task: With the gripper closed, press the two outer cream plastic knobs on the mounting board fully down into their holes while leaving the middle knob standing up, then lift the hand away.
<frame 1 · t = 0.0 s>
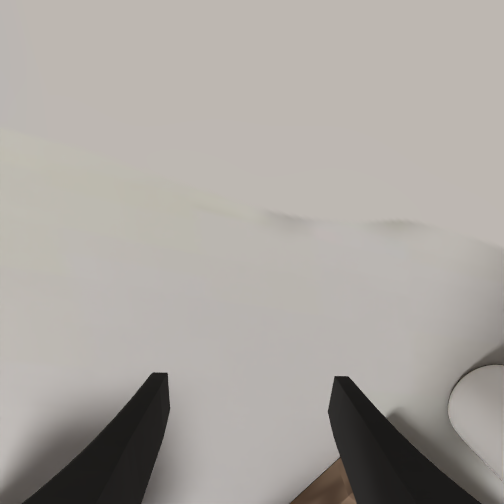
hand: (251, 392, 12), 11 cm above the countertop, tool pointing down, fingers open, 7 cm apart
pill bottle: (485, 399, 24), on the countertop
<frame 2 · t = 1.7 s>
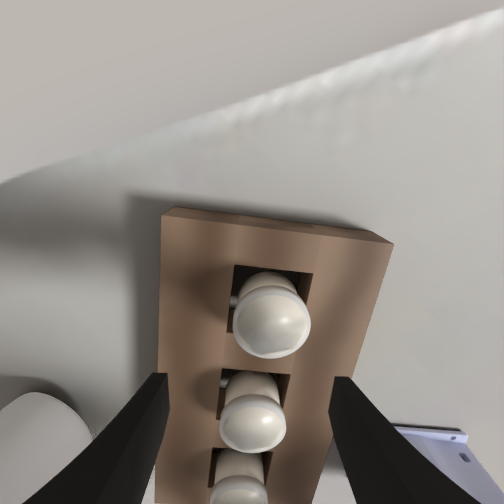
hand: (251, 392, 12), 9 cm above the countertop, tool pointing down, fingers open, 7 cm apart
outer knob 1: (269, 311, 17), point 4 cm above the countertop, slide at 0.0 cm
pill bottle: (58, 422, 23), point 1 cm above the countertop
outer knob 2: (239, 482, 22), point 4 cm above the countertop, slide at 0.0 cm
middle knob: (252, 408, 19), point 4 cm above the countertop, slide at 0.0 cm
knob board: (251, 368, 23), on the countertop
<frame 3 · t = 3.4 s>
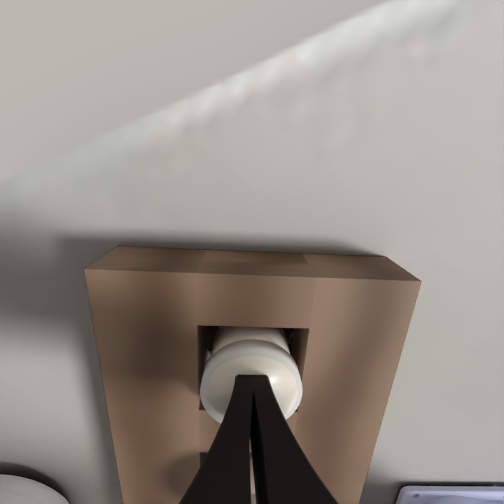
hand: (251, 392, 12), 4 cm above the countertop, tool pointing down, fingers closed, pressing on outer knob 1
outer knob 1: (250, 366, 13), point 3 cm above the countertop, slide at 1.2 cm, touching gripper
pill bottle: (24, 499, 20), on the countertop
middle knob: (244, 502, 14), point 4 cm above the countertop, slide at 0.0 cm
knob board: (244, 432, 18), on the countertop
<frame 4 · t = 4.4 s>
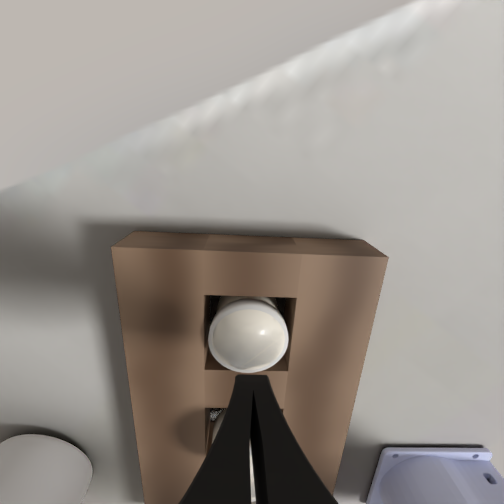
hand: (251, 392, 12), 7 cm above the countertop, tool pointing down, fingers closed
outer knob 1: (248, 323, 16), point 2 cm above the countertop, slide at 2.0 cm
pill bottle: (47, 459, 22), on the countertop
middle knob: (242, 450, 17), point 4 cm above the countertop, slide at 0.0 cm
knob board: (243, 398, 21), on the countertop
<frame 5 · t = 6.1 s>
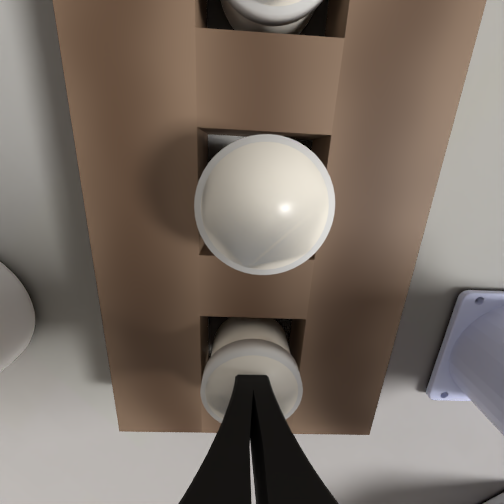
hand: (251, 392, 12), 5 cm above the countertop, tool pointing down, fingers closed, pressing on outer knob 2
outer knob 2: (251, 366, 13), point 3 cm above the countertop, slide at 0.5 cm, touching gripper
middle knob: (262, 202, 10), point 4 cm above the countertop, slide at 0.0 cm
knob board: (257, 190, 14), on the countertop
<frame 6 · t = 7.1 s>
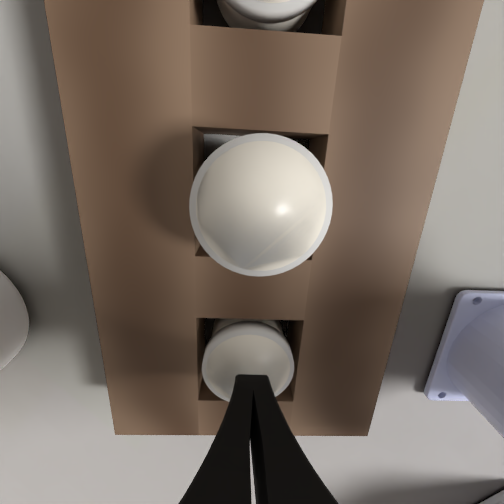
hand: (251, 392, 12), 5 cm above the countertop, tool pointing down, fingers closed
outer knob 2: (247, 347, 14), point 2 cm above the countertop, slide at 2.0 cm
middle knob: (258, 202, 10), point 4 cm above the countertop, slide at 0.0 cm
knob board: (254, 190, 13), on the countertop
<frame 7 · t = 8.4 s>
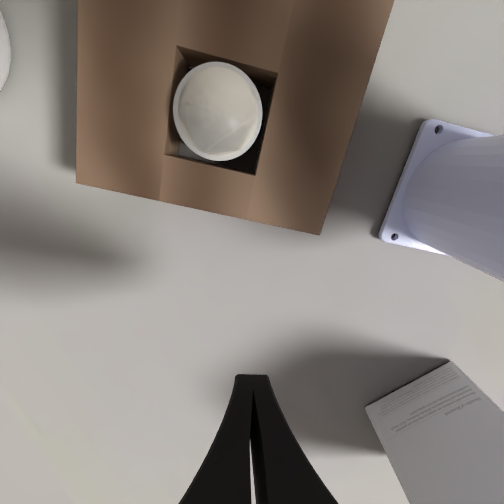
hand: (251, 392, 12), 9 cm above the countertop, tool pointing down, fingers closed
supplement box: (424, 410, 25), on the countertop
outer knob 2: (220, 118, 15), point 2 cm above the countertop, slide at 2.0 cm
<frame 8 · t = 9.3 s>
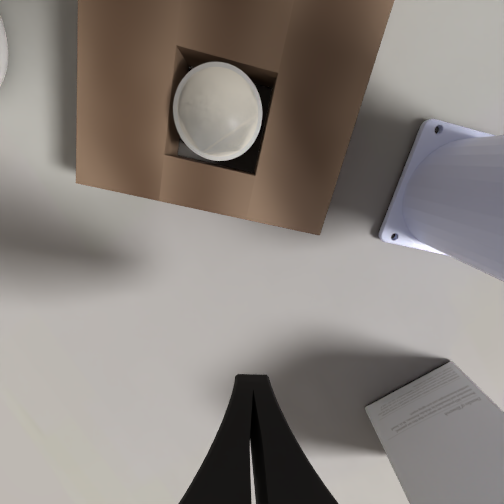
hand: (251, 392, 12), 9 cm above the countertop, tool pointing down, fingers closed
supplement box: (424, 410, 25), on the countertop
outer knob 2: (220, 118, 15), point 2 cm above the countertop, slide at 2.0 cm
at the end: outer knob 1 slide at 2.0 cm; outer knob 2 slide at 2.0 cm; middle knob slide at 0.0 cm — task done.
